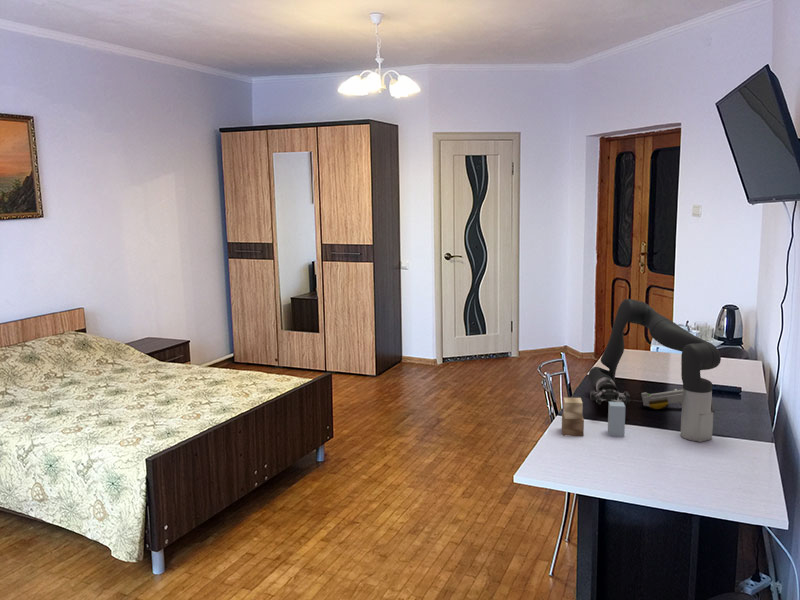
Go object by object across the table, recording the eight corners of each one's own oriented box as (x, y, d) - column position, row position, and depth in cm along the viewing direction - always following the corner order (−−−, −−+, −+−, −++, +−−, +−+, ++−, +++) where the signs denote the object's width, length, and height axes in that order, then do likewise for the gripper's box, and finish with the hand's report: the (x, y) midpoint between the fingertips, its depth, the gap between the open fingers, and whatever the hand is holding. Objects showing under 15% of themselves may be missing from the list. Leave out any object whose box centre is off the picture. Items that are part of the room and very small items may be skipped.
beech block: (580, 413, 238) (580, 397, 237) (582, 419, 232) (582, 403, 231) (563, 413, 239) (563, 397, 238) (564, 418, 233) (565, 402, 232)
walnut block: (581, 429, 239) (581, 413, 238) (583, 436, 232) (583, 420, 231) (561, 428, 240) (562, 412, 239) (563, 435, 233) (563, 419, 232)
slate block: (622, 431, 236) (623, 402, 234) (624, 436, 231) (625, 406, 229) (607, 431, 237) (608, 401, 235) (609, 436, 232) (610, 406, 230)
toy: (715, 412, 253) (711, 386, 251) (647, 421, 258) (642, 395, 257) (711, 407, 258) (707, 381, 257) (645, 416, 264) (640, 391, 263)
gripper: (588, 379, 260) (592, 391, 244) (625, 380, 257) (632, 393, 242) (587, 397, 261) (591, 411, 245) (625, 398, 259) (631, 412, 243)
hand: (612, 402), depth 244 cm, fingers open, 8 cm apart
